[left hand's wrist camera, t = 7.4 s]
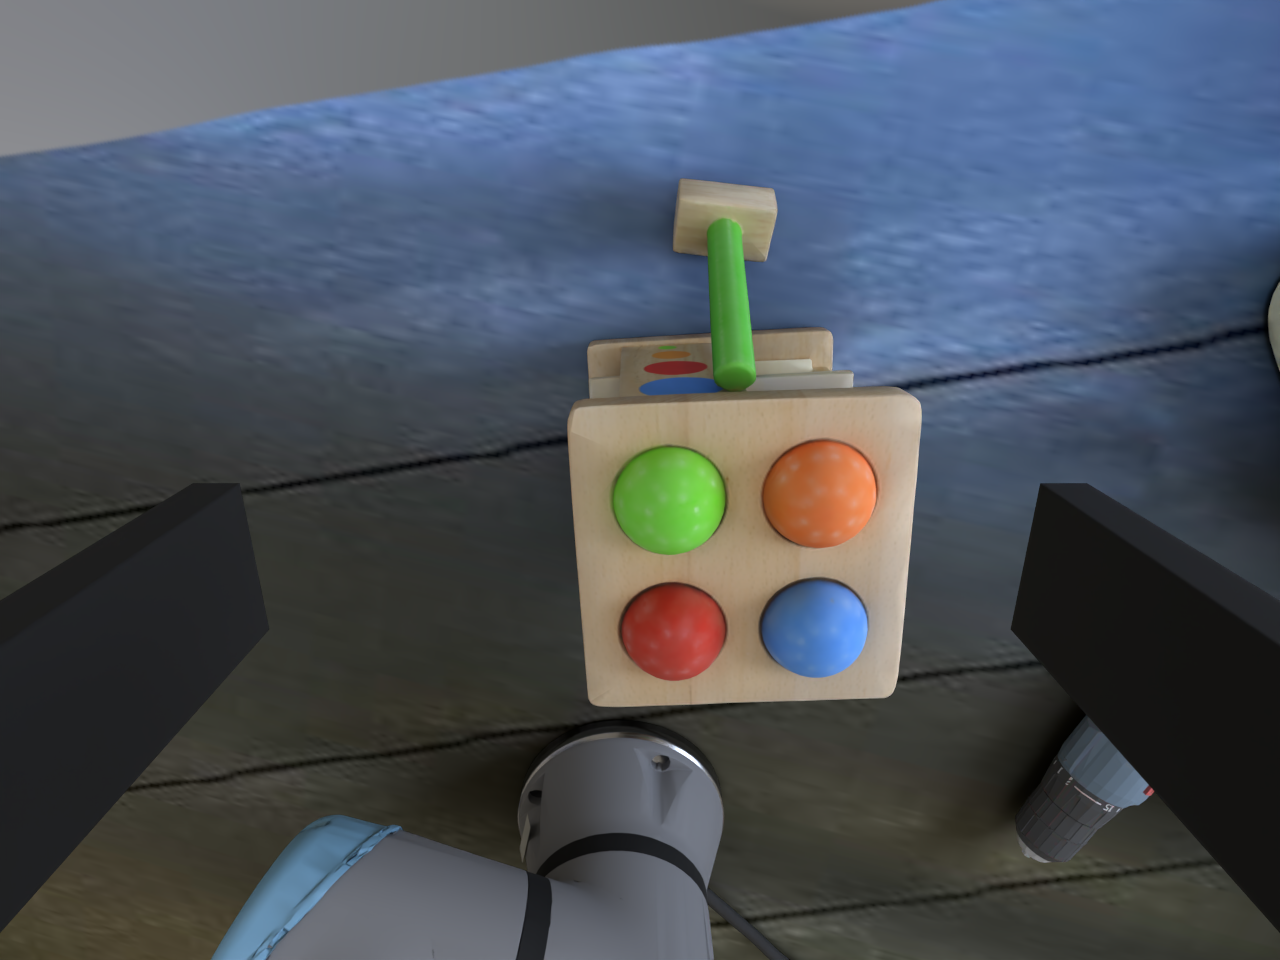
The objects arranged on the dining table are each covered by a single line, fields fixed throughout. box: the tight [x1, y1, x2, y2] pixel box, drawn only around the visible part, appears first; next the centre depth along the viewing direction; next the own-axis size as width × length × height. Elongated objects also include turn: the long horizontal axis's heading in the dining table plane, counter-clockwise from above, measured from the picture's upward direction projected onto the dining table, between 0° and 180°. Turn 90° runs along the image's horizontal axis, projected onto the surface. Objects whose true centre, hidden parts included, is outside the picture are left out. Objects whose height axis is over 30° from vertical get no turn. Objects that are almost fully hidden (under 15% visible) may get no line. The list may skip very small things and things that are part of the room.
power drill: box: [1015, 715, 1154, 862], centre depth 52 cm, size 5×19×20 cm
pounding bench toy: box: [567, 179, 922, 707], centre depth 36 cm, size 23×14×18 cm, turn 3°
